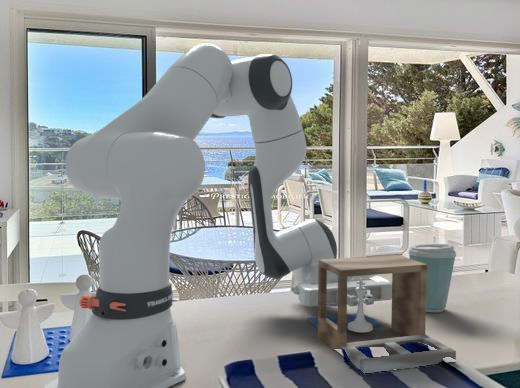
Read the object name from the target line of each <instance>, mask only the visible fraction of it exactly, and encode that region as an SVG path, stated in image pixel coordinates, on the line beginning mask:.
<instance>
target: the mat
mask: <svg viewBox="0 0 520 388" xmlns="http://www.w3.org/2000/svg"><path fill="white" fill-rule="evenodd" d="M356 316H357V312H353V313H347V331H350V330H349V329H348V323H350V322H352V321H355V319H356ZM326 318H327V319H329V320H330V321H332V322H333V323H334V324H336V325H337V324H338V314H333V315H332V314H331V315H326ZM364 318H365V320H366V322H369V323H371V324H372V326H373V327H372V328H377V327H383V324H381V323H380V322H378V321H377V320H374V319H373V318H371V317H370V316H368V315H366V314H365V313H364ZM307 320H308V321H309V322H310V323H312V325H314V326H315V327H317V328H318V316H311V317H307Z"/></svg>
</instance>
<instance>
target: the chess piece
mask: <svg viewBox="0 0 520 388" xmlns="http://www.w3.org/2000/svg"><path fill="white" fill-rule="evenodd" d="M356 284H359V287H357V288H356V292H357V296H358V301H357V302H358V305H357V309H356V310H357V311H356V313H357V316H356V319H355V321H352V322H350V323H348V329H349V330H348V331H352V332H355V333H369V332H371V331H373V330H374V327H373V326H372V324H371V323H369V322H366V320H365V318H364V314H365V313H364V312H365V310H364V302H366V300H365V299H364V298H363V297H364V294H365V291H366V288H364V287H362V285H365V282H362V278H360V279H359V281H356Z"/></svg>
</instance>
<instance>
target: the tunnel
mask: <svg viewBox="0 0 520 388" xmlns="http://www.w3.org/2000/svg"><path fill="white" fill-rule="evenodd" d="M327 270H328V271H330V272H332V273H334V274H336V275H338V306H337V315H338V324H337V325H336V324H334V323H333V322H332V321H330V320H329V319H327V318H326V316H327V305H326V292H327ZM387 274H392V275H391V278H392V279H391V280H392V281H391V282H392V299H391V320H390V321H391V330H392V331H394V332H396V333H397V334H399V335H401V336H397V337H388V338H380V339H372V340H371V339H370V340H361V341H354V342H347V332H348V330H347V314H348V308H347V307H348V305H347V277H349V276H363V275H387ZM426 283H427V264H424V263H421V262H418V261H415V260H412V259H410V257H409V258H408V257H405V256H402V255H400V254H387V255H373V256H359V257H358V256H356V257H344V258H343V257H339V258H338V257H337V258H336V259H320V260H319V267H318V306H317V317H318V327H317V337H318V338H319V339H321V341H323V342H324V343H325V344H326V345H328V346H329V347H330V348H331V349H332V350H334V349H341V348H342V349H344V350H345V352H346V354H347V356H348V358H349V359H350V361H351V362H352V363H353V364H354V365H355V366H356V367H357V368H358V369H360V370H361V371H362V372H363V373H364V374H363V373H362V372H361V371H360V372H361V373H362V374H363V375H366V374H365V373H372V372H378V371H379V373H381V372H380V371H387V372H390V371H389V370H394V369H402V370H406V369H405V368H410V369H413V368H412V367H417V368H420V367H419V366H425V367H427V366H426V365H431V364H436V363H439V362H441V361H442V360H443V358H445V357H451V358H453V359H455V360H456V359H457V358H456V357H457V350H455V349H453V348H451V347H450V346H447V345H446V344H444V343H442V342H440V341H438V340H437V339H435V338H433V337H431V336H429V335H427V334H426V325H427V324H426V321H427V320H426V318H427V317H426V316H427V315H426V314H427V312H426ZM407 342H420V343H424V344H427V345H429V346H431V347H434V348H435V349H437V350H430V351H422V352H414V353H411V352H410V351H408V350H406V349H405V348H403V347H402V346H400V345H401V344H405V343H407ZM359 347H384V348H385V349H386V351H387V352H388V353H389V356H381V357H373V358H369V357H367V356H366V355H365V354H363V353H362V352H361V351H359V350H358V349H357V348H359ZM456 361H457V360H456ZM356 367H355V368H356ZM357 368H356V369H357ZM358 369H357V370H358ZM372 374H373V373H372Z"/></svg>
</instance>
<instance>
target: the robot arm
mask: <svg viewBox="0 0 520 388" xmlns="http://www.w3.org/2000/svg"><path fill="white" fill-rule="evenodd" d="M292 90H293V77H292V73H291V70H290V68H289V65H288V64H287V63H286V62H285V61H284V60H283V59H282V58H281V57H280V56H278V55H276V54H272V53H271V54H270V53H263V54H257V55H256V56H252V57H250V56H249V57H244V58H240V59H233V60H231V59H230V57H229V56H228V54H227V52H225V51H224V50H223V49H222V48H220V47H218V46H217V45H214V44H211V43H200V44H197V45H195V46H193V47H191V49H189V50H187V51H186V52H184V53H183V54H182V55H181V56H180V57H178V59H176V61H174V62H173V64H172V65H171V66H169V67H168V68H167V70H166V71H165V72H164V73H163V75H162V76H161V77H160V79H158V80H157V82H156V83H155V84H154V85H153V87H151V89H150V90H149V91H148V92H147V93H146V94H145V95H144V96H143V97H142V98H141V99H140V100H139V101H137V102H136V103H135V104H133V106H131V107H130V108H128V109H127V110H126V111H124V112H123V113H121V114H120V115H118V116H117V117H116V118H114V119H112V121H110V122H109V123H107V124H106V125H105V126H103V127H102V128H100V129H99V130H96V131H95V132H93V133H92V134H90V135H87V136H84V137H82V138H80V139H78V140H77V141H75V142H74V143H73V144H72V145H71V146H70V148H69V149H68V152H67V154H66V157H65V164H64V165H65V173H66V176H67V179H68V181H69V182H70V184H71V185H72V187H74V188H75V189H76V190H77V191H79V192H82V193H83V194H86V195H89V196H92V197H95V198H97V199H101V200H103V199H104V200H116V201H118V200H119V201H120V208H119V212H118V216H117V218H116V221H115V223H114V224H113V226H112V227H110V228H108V230H106V231H105V232H104V233H103V234H102V236H101V237H100V238H99V243H98V259H99V260H98V261H99V262H98V265H99V270H98V271H99V286H98V287H97V289H96V293H95V295H94V296H92V295H91V296H90V295H87V294H82V296H80V299H79V303H78V304H79V306H80V308H82V309H89V310H91V313H92V314H91V315H90V316H89V318H88V319H87V320H86V322H85V323H84V324H83V325H82V327H81V328H80V329H79V330H78V332H77V333H76V334H75V335H74V336H73V338H72V339H71V340H70V342H68V344H67V345H66V346H65V348H63V350H62V352H61V354H60V357H59V362H58V363H59V364H58V374H57V375H58V376H57V377H55V378H54V379H53V380H52V381H50V382H48V383H47V384H45V385H44V386H43V387H42V388H170V387H171V386H174V385H176V384H178V383H181V382H182V381H183V382H184V381H185V380H186V378H187V375H186V370H185V369H184V368H183V366H182V365H181V357H180V347H179V337H178V329H177V328H178V327H177V325H176V322H175V320H174V318H173V315H172V311H171V307H172V306H173V297H174V292H173V285H172V283H171V282H170V252H171V251H170V249H171V239H172V238H171V237H172V232H173V228H174V225H175V222H176V220H177V217H178V215H179V213H180V211H181V209H182V208H183V206H184V205H185V204H186V203H187V201H188V200H189V199H190V198H192V196H194V195H195V194H196V193H197V192H198V190H199V189H200V187H201V185H202V183H203V181H204V177H205V173H206V172H205V171H206V163H205V157H204V154H203V151H202V150H201V147H200V146H199V144H198V143H197V142H196V141H195V139H196V138H197V137H198V135H199V134H200V132H201V131H202V130H203V128H204V127H205V125H206V124H207V122H208V121H209V120H210V118H211V119H212V118H213V119H223V118H226V117H238V116H247V117H248V119H249V125H250V130H251V136H252V139H253V143H254V147H255V159H254V163H253V166H251V168H250V169H249V171H248V176H247V177H248V178H247V185H248V196H249V205H250V213H251V222H252V223H251V224H252V232H253V253H254V261H255V264H256V266H257V268H258V270H259V272H260V274H261V275H263V276H265V277H267V278H270V279H273V280H274V279H275V280H280V279H282V278H283V277H286V276H287V275H289V274H291V272H292V274H293V277H294V279H295V281H296V282H297V285H296V286H294V287H293V286H292V287H291V290H290V291H291V293H293V294H294V295H297V298H298V299H297V300H298V301H299V302H300V303H301V304H302V305H303V306H304V307H309V308H314V307H318V267H319V260H320V259H337V258H338V246H337V242H336V239H335V235H334V234H333V232H332V230H331V229H330V228H329V226H328V225H326V224H325V223H323V222H322V221H321V220H319V219H318V218H313V217H311V218H309V219H307V220H304V221H301V222H299V223H296V224H293V225H292V226H290V227H287V228H285V229H281V230H279V231H276V232H275V231H274V230H275V229H274V221H273V212H272V211H273V210H272V199H273V196H274V194H275V193H276V191H277V190H278V188H279V187H280V186H281V185H282V184H283V183H284V182H285V181H286V180H287V179H288V178H289V177H291V176H292V175H294V173H296V172H297V170H298V169H299V168H300V167H301V166H302V164H303V162H304V160H305V158H306V155H307V153H308V151H307V149H308V148H307V141H306V137H305V136H306V135H305V132H304V128H303V124H302V122H301V118H300V115H299V112H298V110H297V107H296V104H295V102H294V100H293V97H292V95H291V94H292ZM360 278H362V282H365V285H362V287H364V288H366V291H365V294H364V297H363V298H364V299H365V300H366V302H364V303H363V305H366V306H371V305H374V304H375V302H380V301H382V302H383V301H392V281H391V280H389V279H387V278H385V277H384V276H381V275H380V274H376V275H363V276H349V277H347V306H349V307H355V306H356V307H358V302H357V301H358V296H357V292H356V288H357V287H359V284H356V281H359V279H360ZM326 306H330V307H338V275H336V274H334V273H332V272H330V271H328V270H327V292H326Z"/></svg>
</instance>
